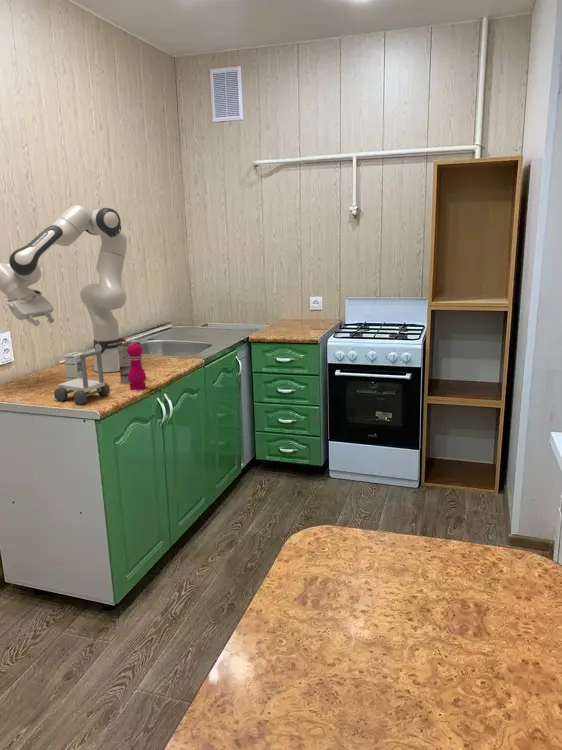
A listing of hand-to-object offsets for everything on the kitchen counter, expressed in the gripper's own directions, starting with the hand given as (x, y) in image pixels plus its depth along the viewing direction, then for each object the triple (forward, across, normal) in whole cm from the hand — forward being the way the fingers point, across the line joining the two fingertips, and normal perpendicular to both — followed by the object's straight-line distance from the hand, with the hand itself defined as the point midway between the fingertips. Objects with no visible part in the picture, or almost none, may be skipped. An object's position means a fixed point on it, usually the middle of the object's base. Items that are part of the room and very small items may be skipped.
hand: (45, 323), depth 236 cm
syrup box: (+28, +1, +10) cm, 29 cm away
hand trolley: (+35, -12, +2) cm, 37 cm away
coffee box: (+39, +15, -3) cm, 42 cm away
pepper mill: (+44, +5, -8) cm, 46 cm away
